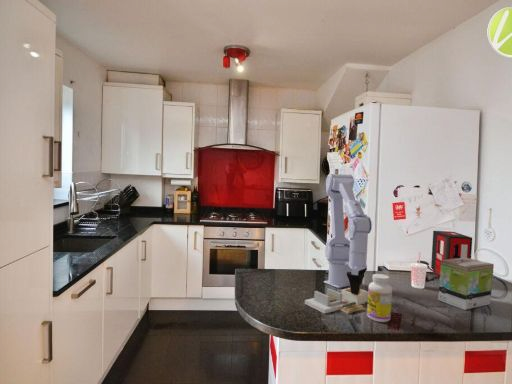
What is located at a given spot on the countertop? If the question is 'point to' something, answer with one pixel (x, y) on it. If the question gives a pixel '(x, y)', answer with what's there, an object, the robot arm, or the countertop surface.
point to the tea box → (465, 283)
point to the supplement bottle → (379, 298)
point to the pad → (332, 299)
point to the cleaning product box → (449, 248)
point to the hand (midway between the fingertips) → (356, 290)
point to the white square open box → (355, 296)
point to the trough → (351, 307)
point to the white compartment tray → (326, 301)
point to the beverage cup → (418, 274)
